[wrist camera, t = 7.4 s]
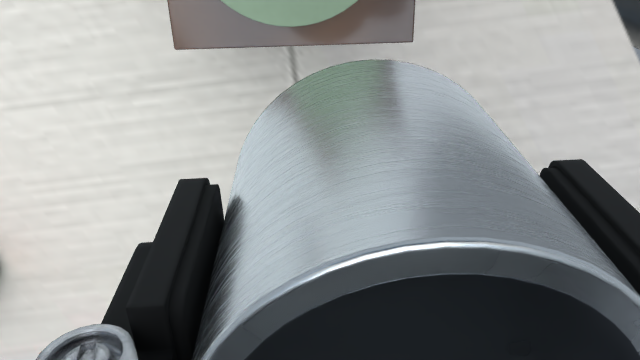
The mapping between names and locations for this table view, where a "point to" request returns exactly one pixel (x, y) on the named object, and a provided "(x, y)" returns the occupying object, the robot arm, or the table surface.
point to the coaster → (289, 10)
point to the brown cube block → (240, 32)
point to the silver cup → (402, 236)
